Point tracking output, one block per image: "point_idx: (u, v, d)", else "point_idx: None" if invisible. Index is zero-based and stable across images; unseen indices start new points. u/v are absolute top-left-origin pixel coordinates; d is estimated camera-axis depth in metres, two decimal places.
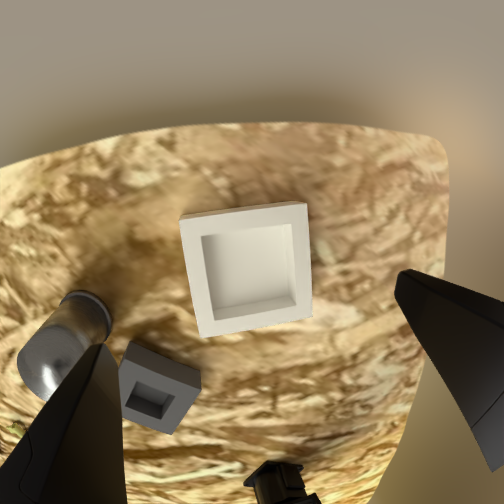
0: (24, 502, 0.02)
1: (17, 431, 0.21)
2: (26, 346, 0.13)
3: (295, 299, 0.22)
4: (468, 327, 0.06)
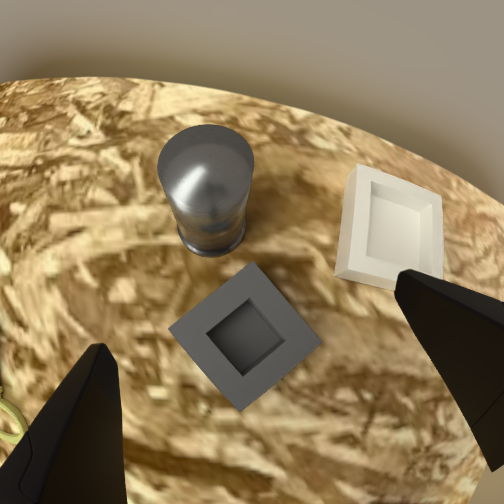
0: (24, 502, 0.02)
1: None
2: (208, 125, 0.14)
3: (430, 270, 0.20)
4: (468, 327, 0.06)
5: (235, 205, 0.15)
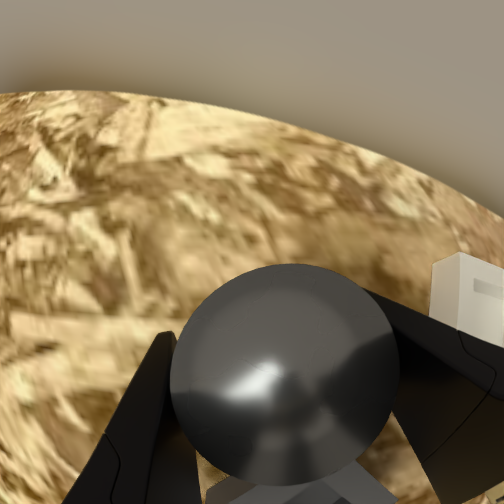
0: None
1: None
2: (291, 264, 0.06)
3: None
4: (412, 359, 0.05)
5: None
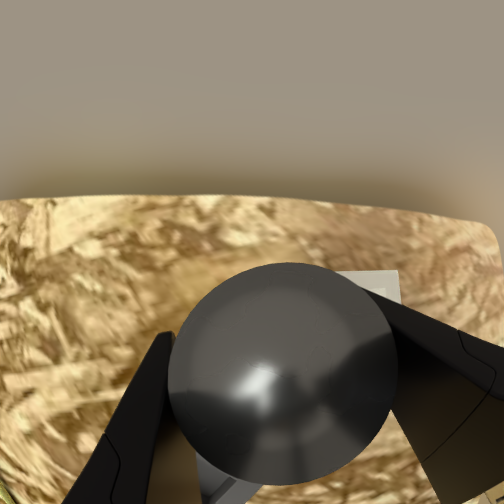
0: None
1: None
2: (289, 263, 0.06)
3: None
4: (412, 359, 0.05)
5: None
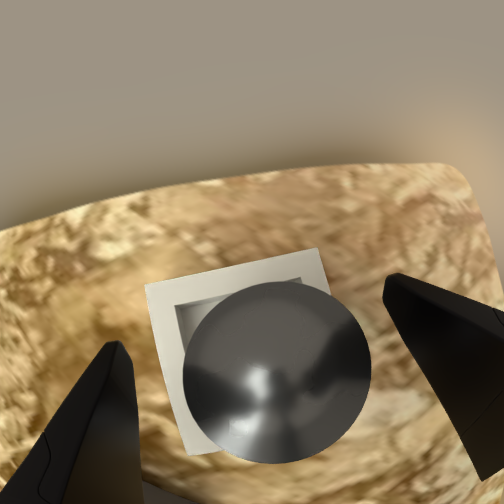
0: None
1: None
2: (280, 282, 0.07)
3: None
4: (456, 334, 0.06)
5: None
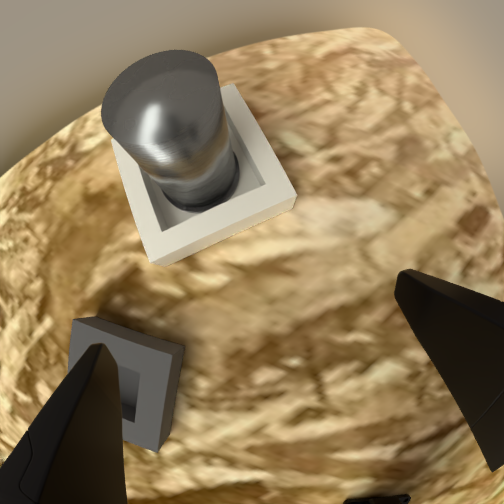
0: (24, 502, 0.02)
1: None
2: (155, 54, 0.10)
3: (262, 179, 0.16)
4: (468, 327, 0.06)
5: (207, 134, 0.10)
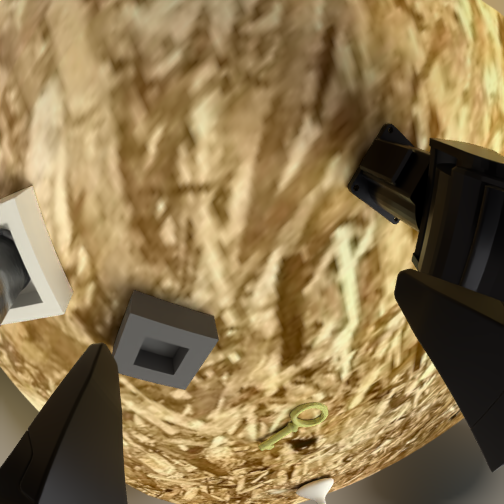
0: (24, 502, 0.02)
1: (263, 447, 0.36)
2: None
3: None
4: (468, 327, 0.06)
5: None
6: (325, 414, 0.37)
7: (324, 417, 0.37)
